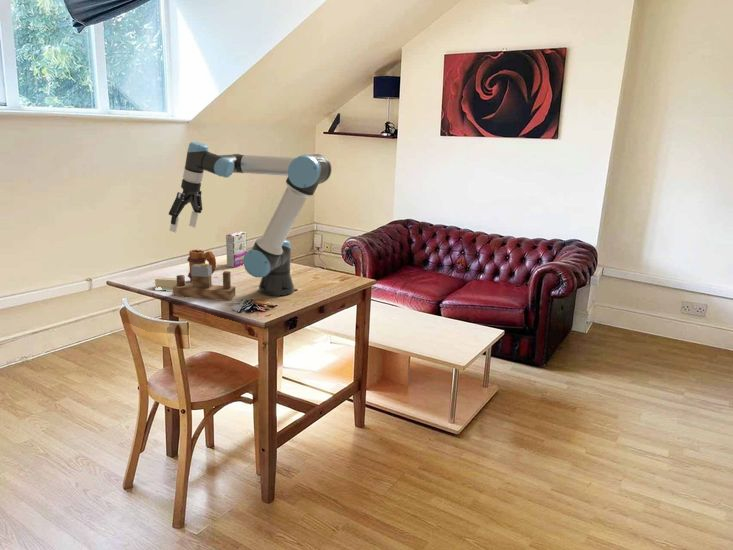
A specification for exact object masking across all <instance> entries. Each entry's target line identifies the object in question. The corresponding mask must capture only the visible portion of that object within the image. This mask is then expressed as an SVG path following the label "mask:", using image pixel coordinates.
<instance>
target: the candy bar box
mask: <svg viewBox="0 0 733 550" xmlns="http://www.w3.org/2000/svg"><path fill="white" fill-rule="evenodd" d="M225 242H226V243H225V244H226V245H225V247H226V249H225V250H226V267H227V268H234V269H235V268H238V267H241V266H244V265H243V258H244V255H245V254H246V253H247V252H248V251H247V247H248V245H247V242H248V241H247V231H246V232H245V231H236V232H232V233H229V234H226V235H225ZM240 265H241V266H240Z"/></svg>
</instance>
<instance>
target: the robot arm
mask: <svg viewBox="0 0 733 550" xmlns="http://www.w3.org/2000/svg"><path fill="white" fill-rule="evenodd" d="M183 169H184V170H183V174H182V180H181V186H180V188H181V189H182V192H177V193H176V197H175V200H174V201H173V203H172V205H171V208H170V210H169V212H168V215H169V216H171V219H170V225H169V232H172V233H177V228H178V224H179V219H180V217H179V216H180V214H181V212H182V211H183V209H184V207H185V206H186V205H188V204H190V205H191V207H192V211H191V215H190V220H189V223H188V224H189V225H188V226H190V227H192V228H195V229H196V227H197V222H198V216H199V214H201V213H202V211H203V203H202V190H201V186H202V181H203V177H204V171H205V172H208V173H211V174H213V175H216V176H219V177H222V178H230V177H231V176H232V174H255V175H268V176H281V177H282V176H284V177H287V178H286V180H285V184H286V189H285V190H284V193H283V195H282V197H281V199H280V200H279V202H278V205H277V207H276V209H275V211H274V212H273V215H272V216H271V219H270V220H269V222H268V225H267V226H266V229H265V230H264V232H263V234H262V237H261V236H260V237H258V238H256V240H255V242H254V243H253V246H252V248H250V249H249V250H248V251H247V253H246V254H245V255H244V258H243V264H244V265H243V267H244V269H245V271H246V272H247V274H249V275H250V276H251V277H254V278H261V279H260V282H259V285H258V292H259V293H260V294H261V295H265V296H271V297H280V295H283V296H288V295H287V294H289V295H292V294H293V293H294V292H295V285H294V282H293V279H292V278H293V277H291V255H292V254H291V249H292V247H291V242H290V241H289V240H287V237H288V235H289V233H290V231H291V229H292V227H293V226H294V223H295V222H296V220H297V217H298V216H299V213H300V212H301V210H302V208H303V206H304V204H305V202H306V201H307V198H309V197H312V196H314V193H315V192H316V190H317V188H318V187H319V185H321V184H323V183H325V182H327V181H328V179H329V178H330V177H331V174H332V165H331V162H330V161H329V159H328V157H326V156H325V155H322V154H319V153H318V154H317V153H315V154H302V155H299V156H296V157H292V156H291V157H289V156H276V155H275V156H272V155H270V156H269V155H255V154H253V155H252V154H240V153H232V154H221V155H220V154H216V153H213V152H210V151H209V146H208V145H207V144H205V143H201V142H198V141H191V142H190V143H189V145H188V147H187V151H186V158H185V164H184V168H183Z"/></svg>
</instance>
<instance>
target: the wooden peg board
mask: <svg viewBox="0 0 733 550" xmlns="http://www.w3.org/2000/svg"><path fill="white" fill-rule="evenodd" d="M176 278H177V285H175V286H174V287H173V292H172V297H173V296H177V297H176V298H186V297H187V299H191V298H192V299H201V300H202V299H205V300H217V301H228V302H229V301H230V302H231V301H232V300H233V299H234V298H235V297H236V295H237V294H236V286H232V285H231V271H228V270H226V271H225V270H224V271H223V272H222V285H219V284H217V285H216V284H212V283H213V282H212V275H210V276H209V277H200V276H192V282H191V283H190V282H189V283H187V282H186V279H185V278H186V277H185V275H183V274H177V275H176Z"/></svg>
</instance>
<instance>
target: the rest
mask: <svg viewBox="0 0 733 550" xmlns="http://www.w3.org/2000/svg"><path fill="white" fill-rule="evenodd" d="M154 281H155V285H154V286H155V287H157V288H158V287H161V288H162V290H166V291H165V292H171V291H173V287H174V286H175V285H177V277H175V278H173V277H160V276H158V277H156V278H155V279H154Z"/></svg>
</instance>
